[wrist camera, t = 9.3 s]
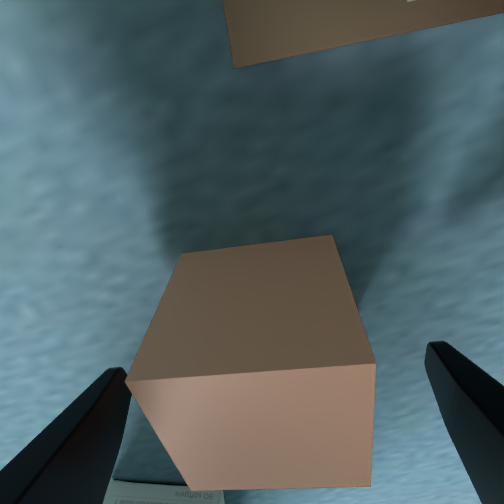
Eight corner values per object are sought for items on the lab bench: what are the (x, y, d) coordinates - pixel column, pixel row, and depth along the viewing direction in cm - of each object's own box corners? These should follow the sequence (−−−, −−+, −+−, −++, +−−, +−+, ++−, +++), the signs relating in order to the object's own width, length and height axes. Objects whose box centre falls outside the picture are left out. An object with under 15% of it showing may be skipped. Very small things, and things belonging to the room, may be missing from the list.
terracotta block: (331, 233, 10) (376, 363, 6) (337, 341, 13) (371, 486, 8) (181, 252, 11) (124, 381, 7) (216, 351, 13) (191, 490, 9)
